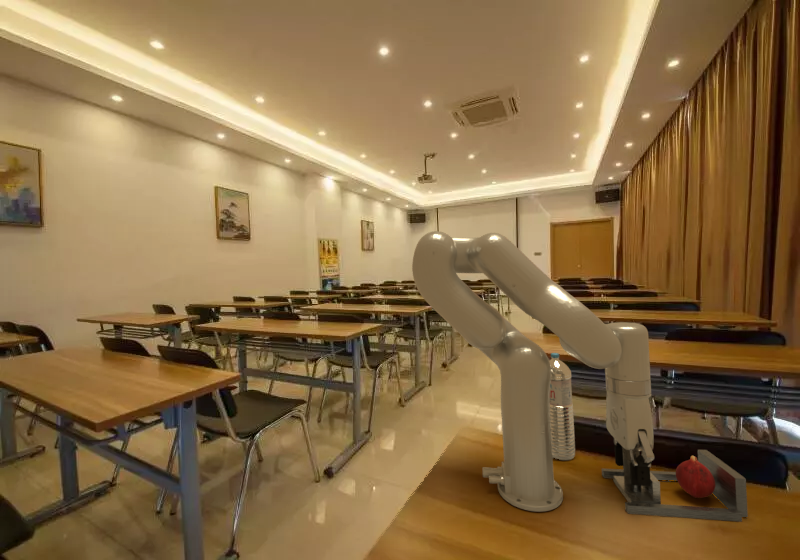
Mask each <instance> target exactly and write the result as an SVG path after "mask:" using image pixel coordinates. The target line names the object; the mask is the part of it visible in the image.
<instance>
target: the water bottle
mask: <svg viewBox="0 0 800 560" xmlns="http://www.w3.org/2000/svg"><path fill="white" fill-rule="evenodd" d="M550 358H551V359H549V361H550V365H551V385H550V419H551V437H552V457H553V459H554V458H555V459H554V460H557V459H559V461H571V460H572V459H574V457H576V441H575V439H576V437H575V425H574V424H575V419H574V403H573V395H572V394H573V392H572V390H573V389H572V371H571V369H570V368H569V366H568V365H567V364H566V363H565V362H563V361H562V360H560V353H559V352H552V353H550Z"/></svg>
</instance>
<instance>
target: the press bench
mask: <svg viewBox="0 0 800 560" xmlns="http://www.w3.org/2000/svg"><path fill="white" fill-rule="evenodd" d="M697 460H698V462H700V463H701V464H703V465H704V466H705V467H706V468H707V469H708V470H709V471H710V472H711V474H712V475H713V477H714V480H715V489H714V492H713V494H714V495H715V496H716V497H717V499H719V500H720V501H721V502H722V503H723V504H724V505H725V506H726V507H727V508H728V509H727V508H726V507H725V506H724V505H723V504H722V503H721V502H720V501H719V502H720V503H721V504H722V505H723V506H724V507H725V508H721V507H707V506H705V507H704V506H695V505H694V506H692V505H677V504H676V505H675V504H649V503H633V502H628V501H625V502H624V505H625V506H624V507H625V508H624V509H625V512H626V513H627V514H629V515H643V516H645V515H646V516H657V517H668V518H669V517H670V518H671V517H672V518H673V517H674V518H685V519H686V518H687V519H699V520H700V519H701V520H715V521H728V522H743V518H742V517H748V516H749V515H748V496H747V479H746V478H745V477H744V476H743V475H741V474H740V472H737V471H736V470H735V469H733V468H732V467H731V466H729V465H728V464H727V463H725V462H724V461H723V460H721V459H720V458H718V457H716V456H715V455H714V454H713V453H711V452H710V451H708V449H697ZM650 472H651V473H652V474H653V475H654V476H655V477H656V478H657V480H668V481H667V482H670V481H669V480H674V481H675V480H676V481H677V478H676V471H662V470H660V471H659V470H650ZM601 476H602V477H603V479H613V476H624V469H621V468H620V469H619V468H618V469H617V468H601ZM717 499H716V500H717ZM748 518H749V517H748Z"/></svg>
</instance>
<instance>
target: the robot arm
mask: <svg viewBox="0 0 800 560" xmlns="http://www.w3.org/2000/svg"><path fill="white" fill-rule="evenodd" d="M411 264H412V265H411V266H412V267H411V269H412V271H411V272H412V276H413V280H414V285H415V287H416V289H417V290H418V293H419V294H420V296H421V297H422V298H423V300H424V301H425V302H426V303H427V304H428V306H430V307H431V308H432V309H433V310H434V311H435V312H436V313H437V314H438V315H439V316H440V317H442V319H444V321H445V322H446V323H447V324H449V325H450V326H451V327H452V329H454V330H455V331H456V332H457V333H458V334H459V335H460V336H461V337H462V338H463V339H464V340H465V341H466V343H468V345H471V346H472V347H474V348H476V349H479V350H480V352H482V353H483V354H484V355H485V356H486V357H487V358H488V359H489V360H491V362H493V363H494V364H495V365H496V366H497V368H498V369H499V373H500V411H501V412H500V414H501V415H500V416H501V425H502V427H501V428H502V445H503V448H502V449H503V461H501V466H497V467H486V466H484V467H482V478H486V479H487V478H488V482H489V484H493V485H494V484H497V491H498V492H499V495H500V496H501V497H502V499H503V500H505V501H506V502H508V503H509V504H510V505H512V506H513V507H515V508H516V507H517V508H518V509H521V510H524V511H529V512H535V513H536V512H538V513H542V512H549V511H552V510H555V509H556V508H558V507H559V506H560V505H561V504H562V502H563V500H564V492H563V489H562V487H561V485H560V484H559V483H558V482H557V481H556V480H555V479H554V478H555V477H554V460H553V459H554V458H553V457H552V437H551V419H550V385H551V365H550V361H549V360H550V358H549V357H548V355H547V353H546V352H545V351H544V349H543V348H542V347H541V346H540V345H538V343H536V342H534V341H533V340H532V339H529V337H527V336H526V335H524V334H523V333H522V332H521V331H520V330H519V329H517V328H516V327H515V326H514V325H513V324H512V323H511V322H510V321H509V320H508V319H506V318H505V317H504V316H503V315H502V314H501V313H500V311H499V310H498V309H497V308H495V306H493V305H491V304H489V303H487V302H486V301H485V300H484V299H483V298H481V297H480V296H479V295H478V294H477V293H476V292H475V291H473V289H471V288H470V286H468V285H467V283H466V282H464V280H462V279H461V278H460V277H459V276H458V274H483V275H484V276H485V277H486V278H488V280H490V281H491V282H492V284H494V285H495V286H496V287H497V288H498V289H499V290H500V291H501V292H503V295H505V296H506V297H507V298H508V299H509V300H510V301H511V302H512V303H514V305H515V306H517V308H519V309H520V310H521V311H523V313H525V314H526V315H528V316H529V317H531V318H533V319H535V321H537V322H539V323H541V324H542V325H544V327H546V328H547V329H548V330H550V331H551V332H552V333H554V335H556V336H557V338H558V340H559V344H560V347H561V348H562V350H564V352H566V353H567V354H568V355H570V356H571V357H573V358H575V359H576V360H578V361H579V362H582V363H583V364H585V365H586V366H588V367H591V368H594V369H598V370H604V373H605V391H606V398H605V399H606V402H605V403H606V404H605V419H606V420H605V426H606V429H607V431H608V433H609V434H610V436H612V438H613V444H614V461H615V465H616V466H618V467H623V449H622V447H623V448H625V449H626V450H630V455H631V460H632V463H630V480H631V483H632V485H636V486H650V485H651V482H650V471H651V469H650V468H651V467H652V461H654V460H655V454H654V453H653V450H654V443H655V442H654V440H655V439H654V425H653V417H652V410H651V405H650V399H649V398H651V397H652V382H651V365H650V364H651V363H650V362H651V361H650V360H651V359H650V346H649V345H650V343H649V340H650V339H649V331H648V329H647V327H646V326H644V325H643V324H641V323H637V322H628V321H626V322H624V321H620V322H610V323H604V322H603V321H602V320H601V318H599V317H598V316H597V315H596V314H595V313H594V312H593V311H592V310H590V309H589V308H588V307H587V306H585V304H583V303H582V302H581V301H580V300H578V299H577V298H575V297H574V296H573V295H571V294H570V293H569V291H566V290H565V289H564V288H563V287H562V286H560V284H558V283H557V282H555V281H554V280H552V279H551V278H550V277H549V276H548V275H547V274H546V273H545V272H544V271H543V270H541V268H539V267H538V266H537V265H536V264H535V263H534V262H533V261H532V260H531V259H530V258H529V257H528V256H526V254H524V253H523V252H522V251H521V249H519V247H517V246H516V245H515V244H514V243H513V242H512V241H511V240H509V238H507V237H506V236H504V235H503V234H501V233H498V232H489V233H486V234H483V235H480V237H451V235H449V234H447V233H445V232H442V231H439V230H435V231H430V232H428V233H426V234H423V236H422V237H421V238H420V239H419V240H418V242H417V244H416V246H415V248H414V252H413V257H412V263H411ZM636 444H639V447H635V446H636ZM635 451H639V452H641V454H639V456H638V457H637V458H636V453H635Z"/></svg>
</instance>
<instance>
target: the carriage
mask: <svg viewBox="0 0 800 560" xmlns="http://www.w3.org/2000/svg"><path fill="white" fill-rule="evenodd" d="M635 447H640V444H636V446H635ZM622 449H623V466H622V467H623V470H624V476H613V478H612V481H613V483H614V484H615V486H616V487H617V489H618V490H619V492H621V494H622V495H623V496H624V498H625V500H626V502H633V503H649V504H661V503H662V499H661V481H658V480H657V478H656V477H655V476H654V475H653V474H652V473H651V472H650V482H651V485H650V486H636V485H632V483H631V480H630V463H632V460H631V455H630V450H626V449H625V448H623V447H622ZM635 453H636V458H637V457H638V456H639V455H640V451H635Z"/></svg>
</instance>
